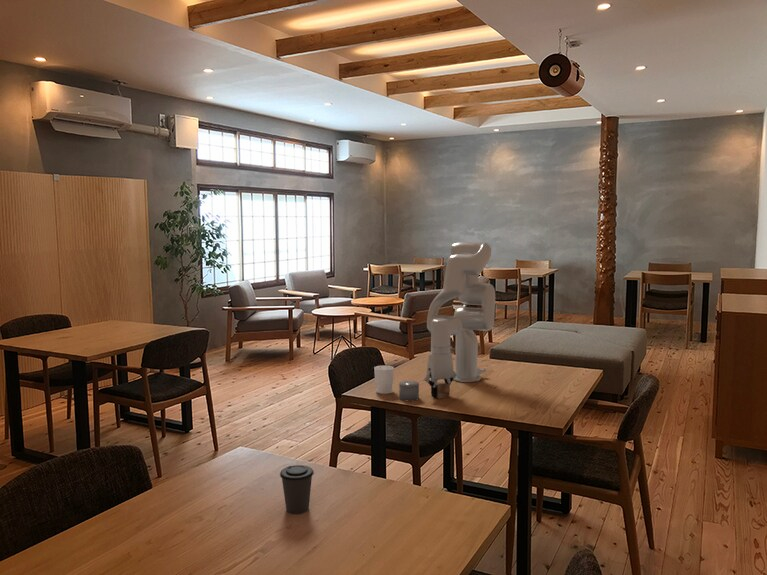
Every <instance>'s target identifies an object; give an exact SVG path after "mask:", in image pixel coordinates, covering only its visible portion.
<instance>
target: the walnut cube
mask: <svg viewBox="0 0 767 575" xmlns="http://www.w3.org/2000/svg"><path fill="white" fill-rule="evenodd" d="M436 387H437V397H435V398H436V399H439V400H440V399H445V398H450V392H449V384H447V383H445V382H444V381H437V385H436Z"/></svg>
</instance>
